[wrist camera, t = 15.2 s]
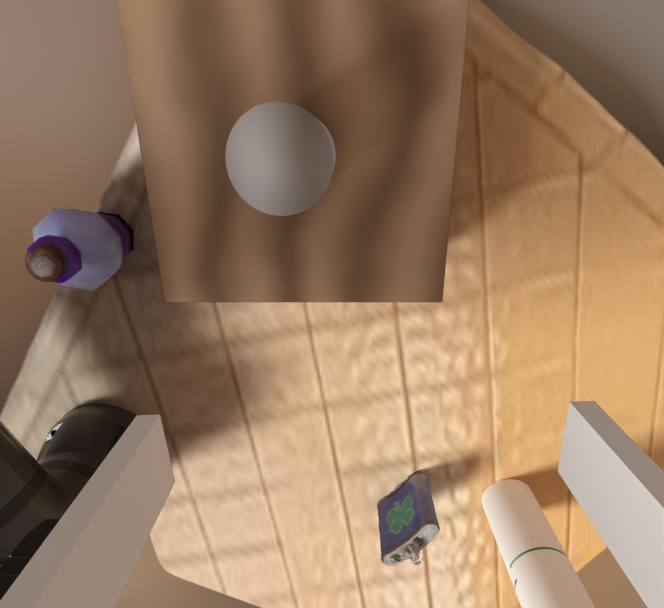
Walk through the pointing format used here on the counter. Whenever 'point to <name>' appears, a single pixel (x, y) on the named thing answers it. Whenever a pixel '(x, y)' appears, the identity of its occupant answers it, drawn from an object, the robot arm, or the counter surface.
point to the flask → (407, 520)
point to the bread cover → (298, 145)
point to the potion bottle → (78, 248)
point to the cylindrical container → (531, 549)
